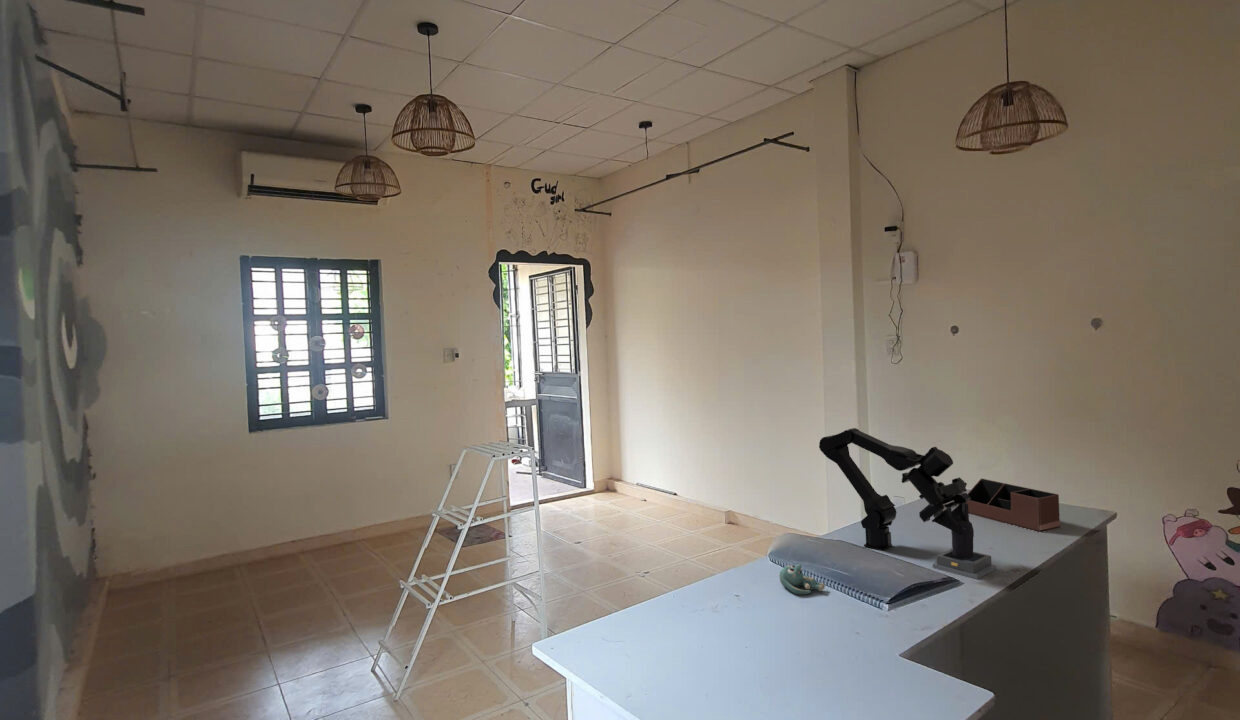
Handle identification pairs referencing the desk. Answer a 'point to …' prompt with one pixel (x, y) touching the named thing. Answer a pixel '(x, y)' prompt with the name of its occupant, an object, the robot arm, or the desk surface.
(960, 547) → the two-way radio
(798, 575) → the stuffed animal
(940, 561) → the charging cradle
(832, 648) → the desk surface
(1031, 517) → the desk organizer
